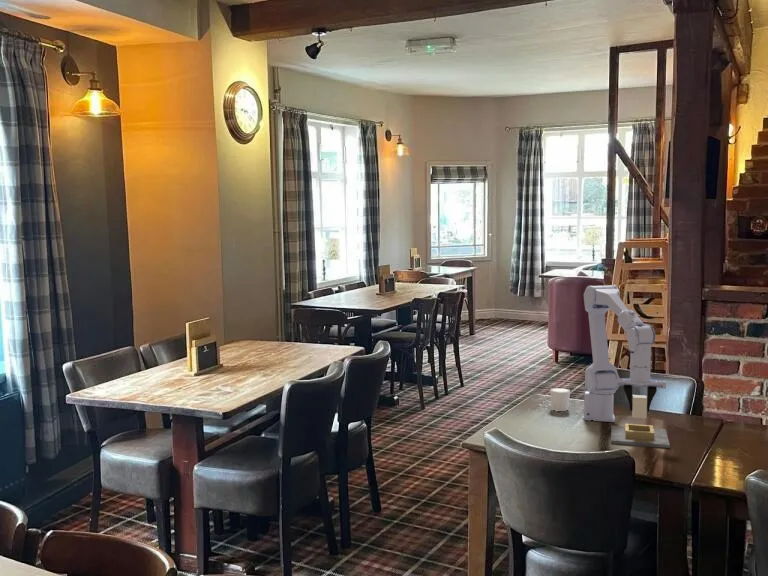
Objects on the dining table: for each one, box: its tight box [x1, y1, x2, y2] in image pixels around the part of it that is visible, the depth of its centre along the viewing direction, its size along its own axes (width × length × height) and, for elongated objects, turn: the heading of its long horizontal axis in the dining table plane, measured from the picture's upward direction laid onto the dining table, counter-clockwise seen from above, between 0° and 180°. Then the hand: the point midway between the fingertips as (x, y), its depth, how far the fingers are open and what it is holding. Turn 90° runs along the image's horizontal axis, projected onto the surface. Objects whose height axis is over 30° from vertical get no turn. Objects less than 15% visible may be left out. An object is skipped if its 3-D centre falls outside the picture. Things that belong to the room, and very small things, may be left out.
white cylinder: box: [549, 387, 571, 412], centre depth 250 cm, size 7×7×7 cm
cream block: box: [631, 394, 648, 419], centre depth 216 cm, size 4×4×6 cm
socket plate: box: [610, 423, 671, 449], centre depth 217 cm, size 16×16×3 cm
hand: (639, 410), depth 216 cm, fingers closed on cream block, 4 cm apart
